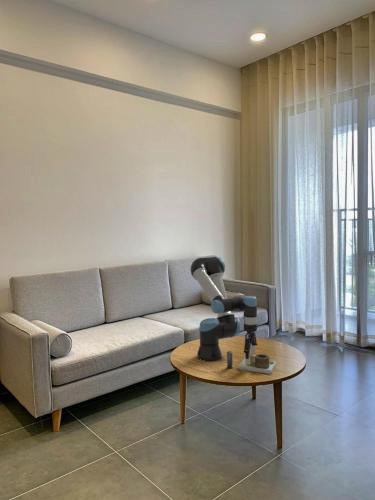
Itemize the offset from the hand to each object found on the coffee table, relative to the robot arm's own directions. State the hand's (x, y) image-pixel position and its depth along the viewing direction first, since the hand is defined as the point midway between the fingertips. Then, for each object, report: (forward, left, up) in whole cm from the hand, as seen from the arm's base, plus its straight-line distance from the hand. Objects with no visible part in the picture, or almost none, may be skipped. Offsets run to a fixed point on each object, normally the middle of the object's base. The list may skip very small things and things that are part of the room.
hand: (250, 360), depth 220 cm
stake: (-10, -6, -4) cm, 13 cm away
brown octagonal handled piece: (+4, 0, -3) cm, 5 cm away
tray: (+4, 0, -4) cm, 5 cm away
